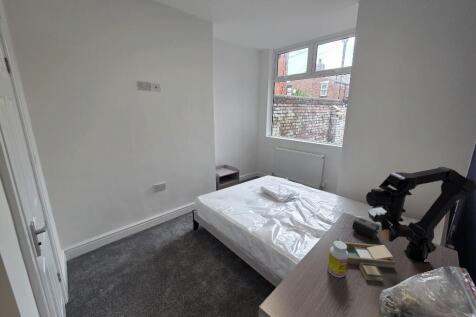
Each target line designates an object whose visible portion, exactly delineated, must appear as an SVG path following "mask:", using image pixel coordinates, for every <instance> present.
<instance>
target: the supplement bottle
mask: <svg viewBox="0 0 476 317" xmlns="http://www.w3.org/2000/svg"><path fill="white" fill-rule="evenodd" d="M343 242H344V241H342V240H341V241H337V240H335V241H334V242H333V244H332V245H331V247H330V248H329V253H328V261H327V268H326V269H327V271H328V273H330V275H332V276H333V277H335V278H343V277H344V276H346V272H347V266H348V263H347V262H348V256H349V255H348V252H347V245H346V244H345V243H343Z"/></svg>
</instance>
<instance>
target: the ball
mask: <svg viewBox="0 0 476 317" xmlns="http://www.w3.org/2000/svg"><path fill="white" fill-rule="evenodd" d="M381 237H382V238H383V239H384V240H385V241H389V230H388V229H385V230H383V231H382V230H381Z"/></svg>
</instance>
